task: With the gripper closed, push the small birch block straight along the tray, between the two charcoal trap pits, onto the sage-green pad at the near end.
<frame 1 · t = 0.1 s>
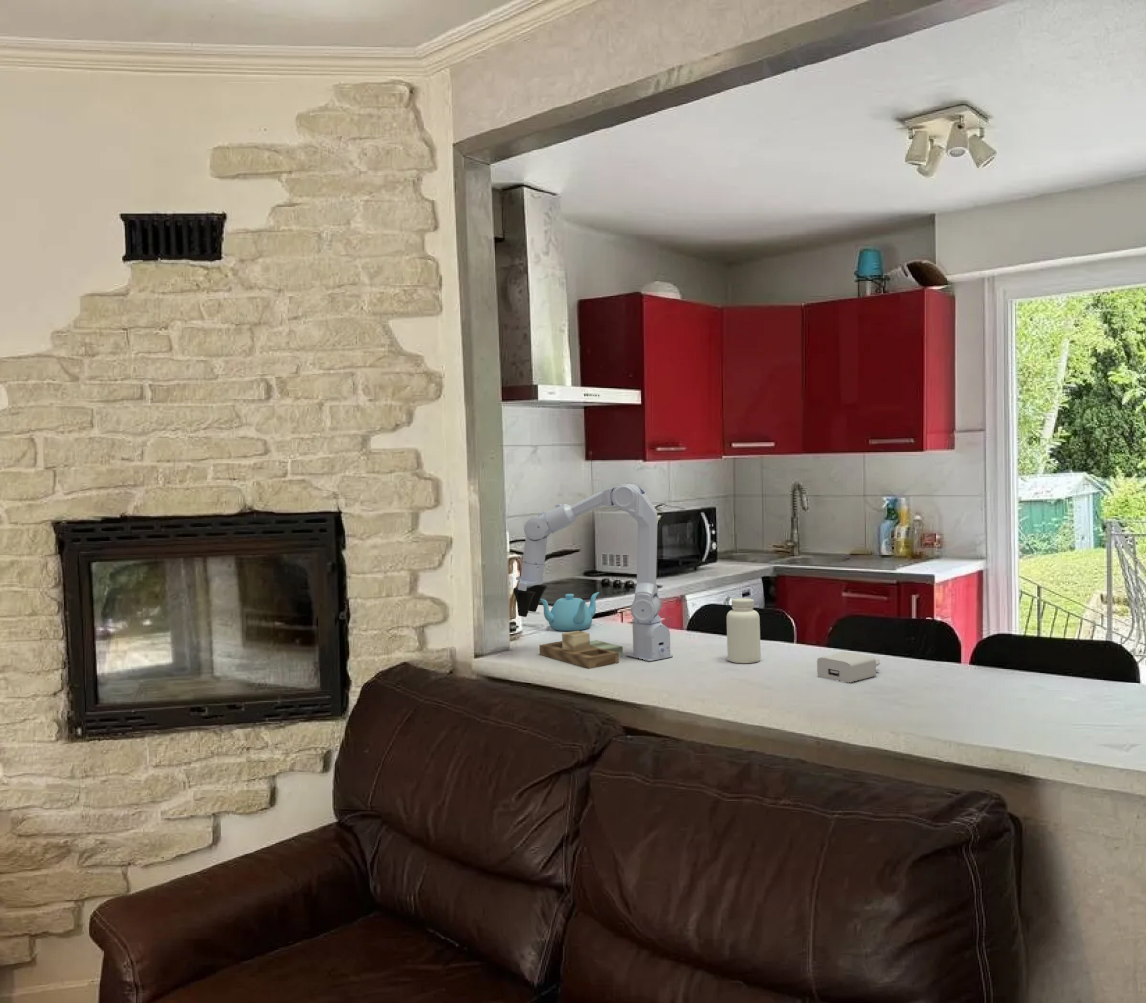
hand: (527, 613, 247), 11 cm above the worktop, tool pointing down, fingers open, 7 cm apart
teapot: (572, 629, 281), on the worktop
birch block: (576, 649, 239), point 2 cm above the worktop, touching tray
pill bottle: (744, 661, 231), on the worktop
charger: (855, 676, 214), on the worktop
tray: (598, 654, 243), on the worktop
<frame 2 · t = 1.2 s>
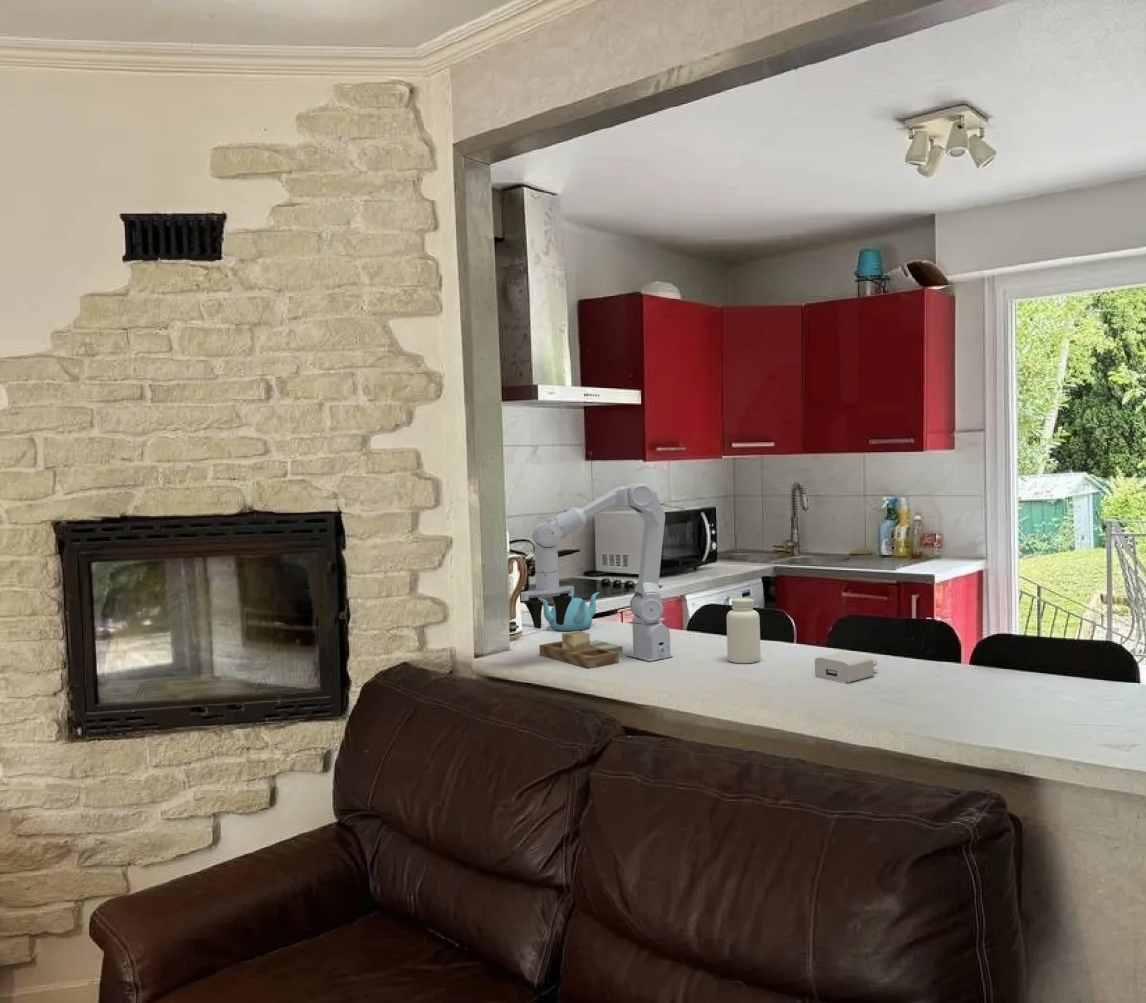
hand: (548, 626, 234), 9 cm above the worktop, tool pointing down, fingers open, 6 cm apart
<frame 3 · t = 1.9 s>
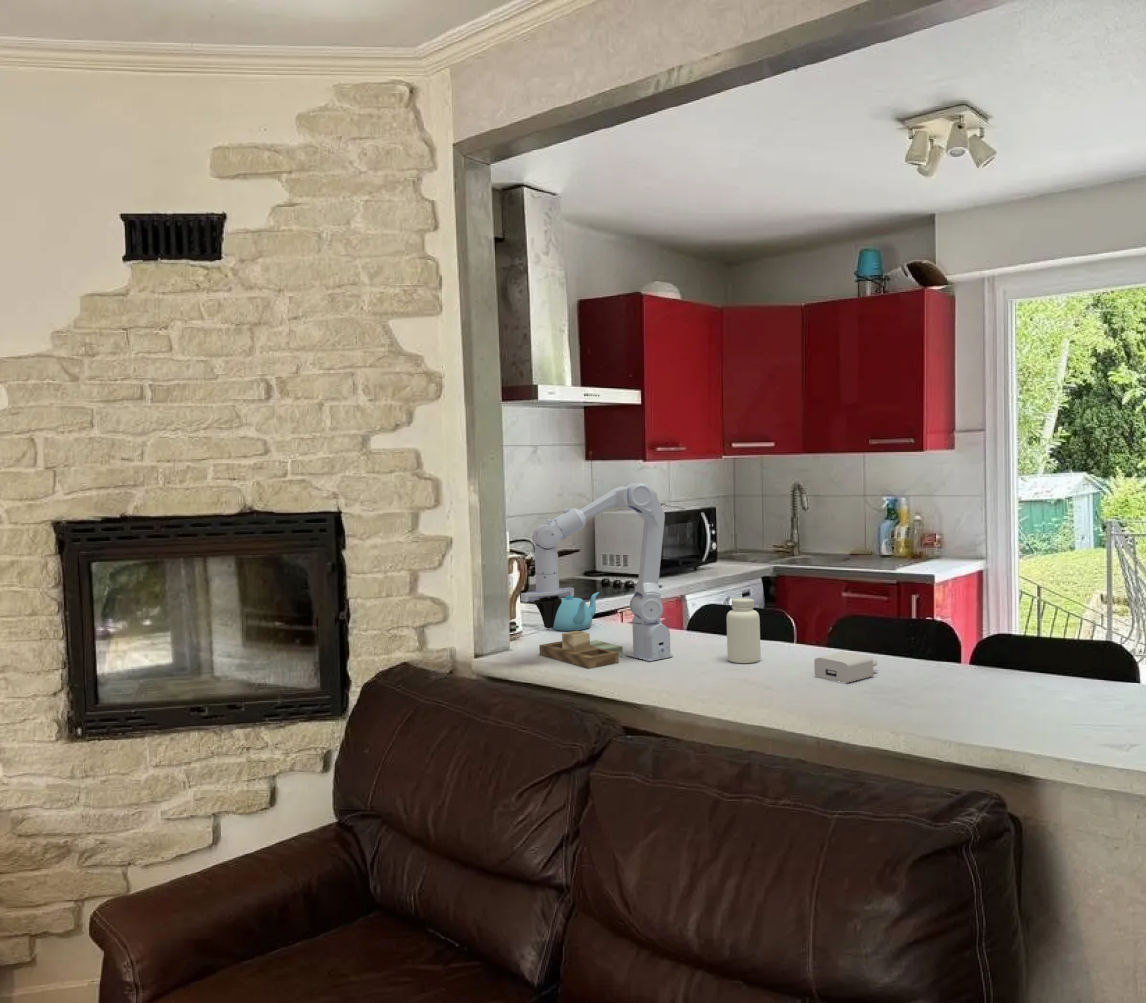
hand: (548, 627, 234), 9 cm above the worktop, tool pointing down, fingers closed
nothing on the worktop moved.
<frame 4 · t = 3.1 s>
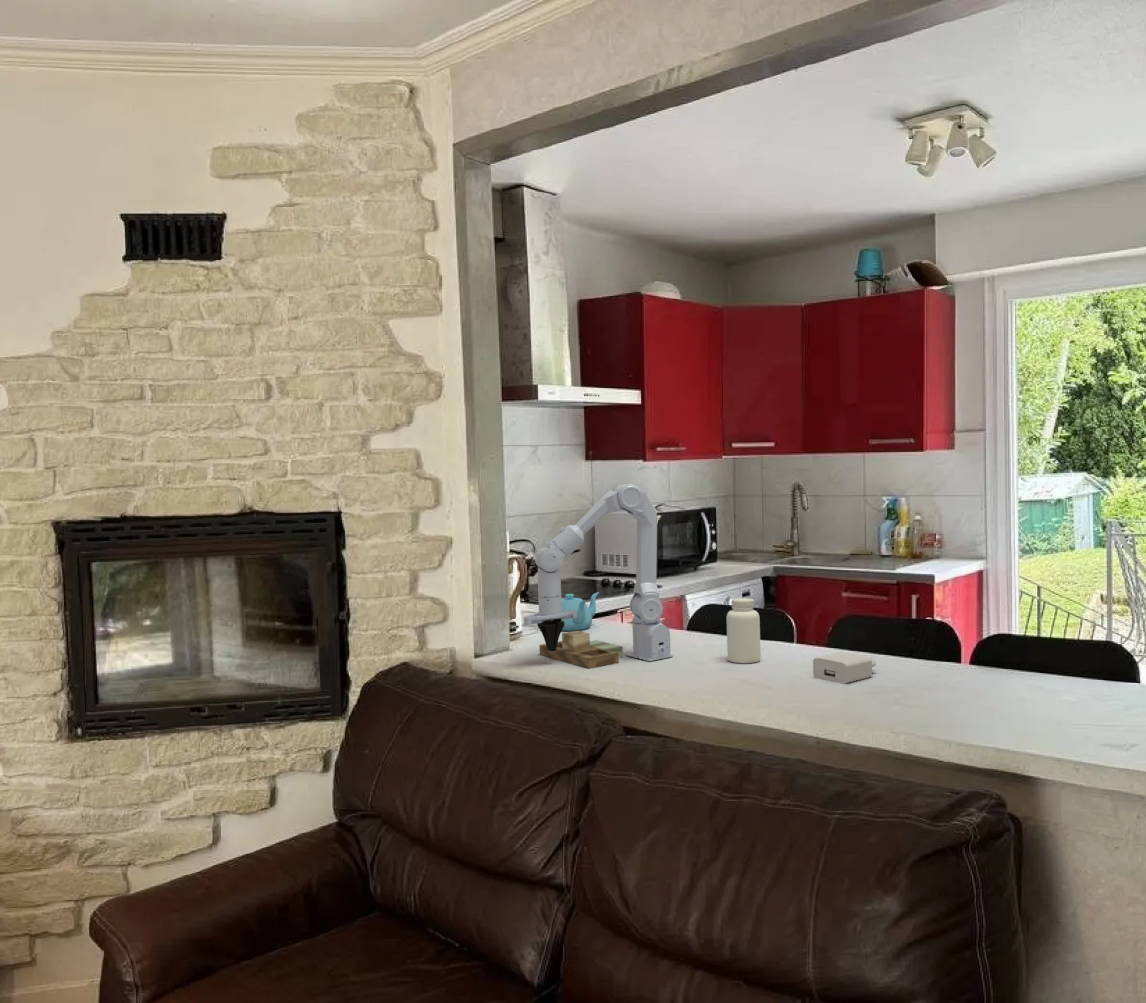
hand: (551, 650, 235), 3 cm above the worktop, tool pointing down, fingers closed
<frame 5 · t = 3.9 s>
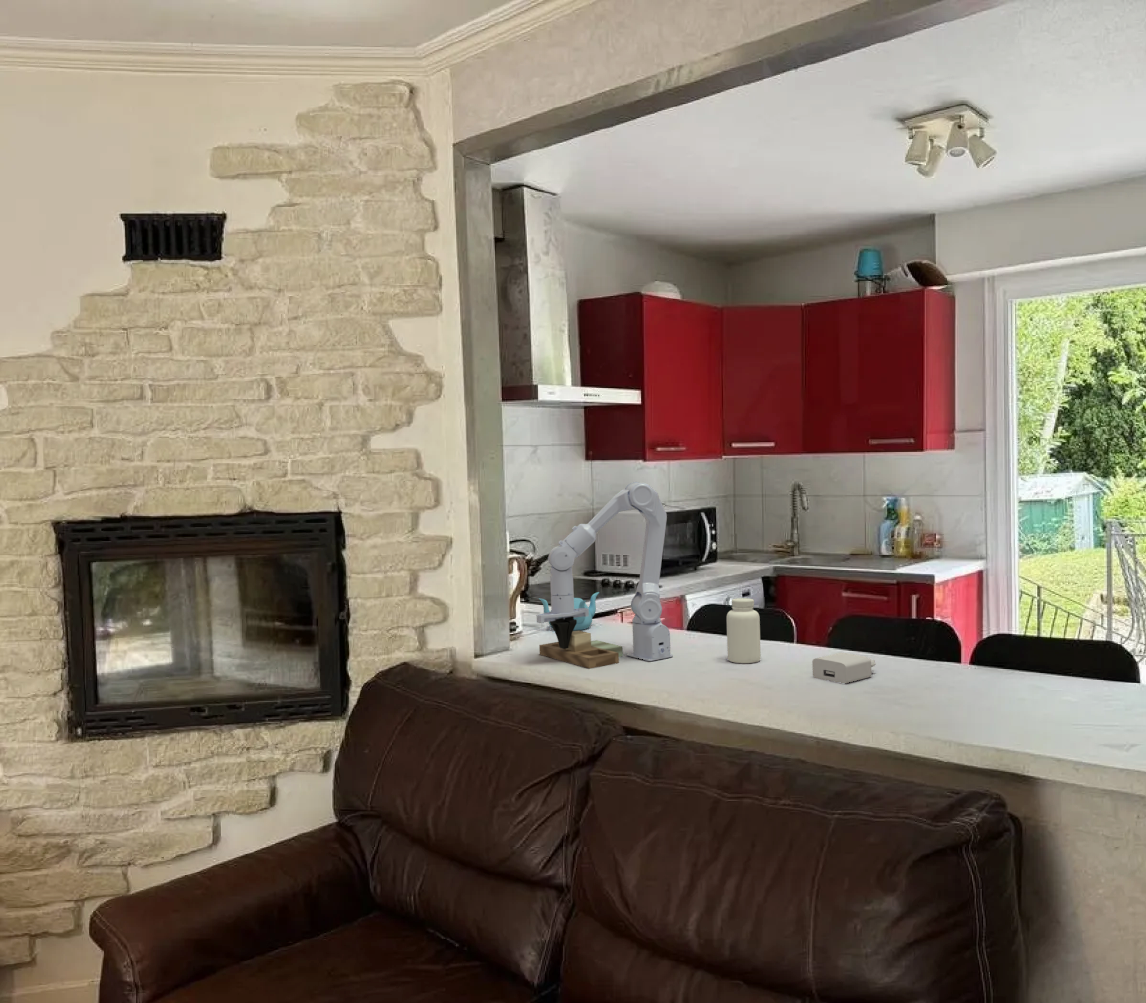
hand: (564, 648, 237), 3 cm above the worktop, tool pointing down, fingers closed
birch block: (577, 648, 240), point 3 cm above the worktop, touching gripper
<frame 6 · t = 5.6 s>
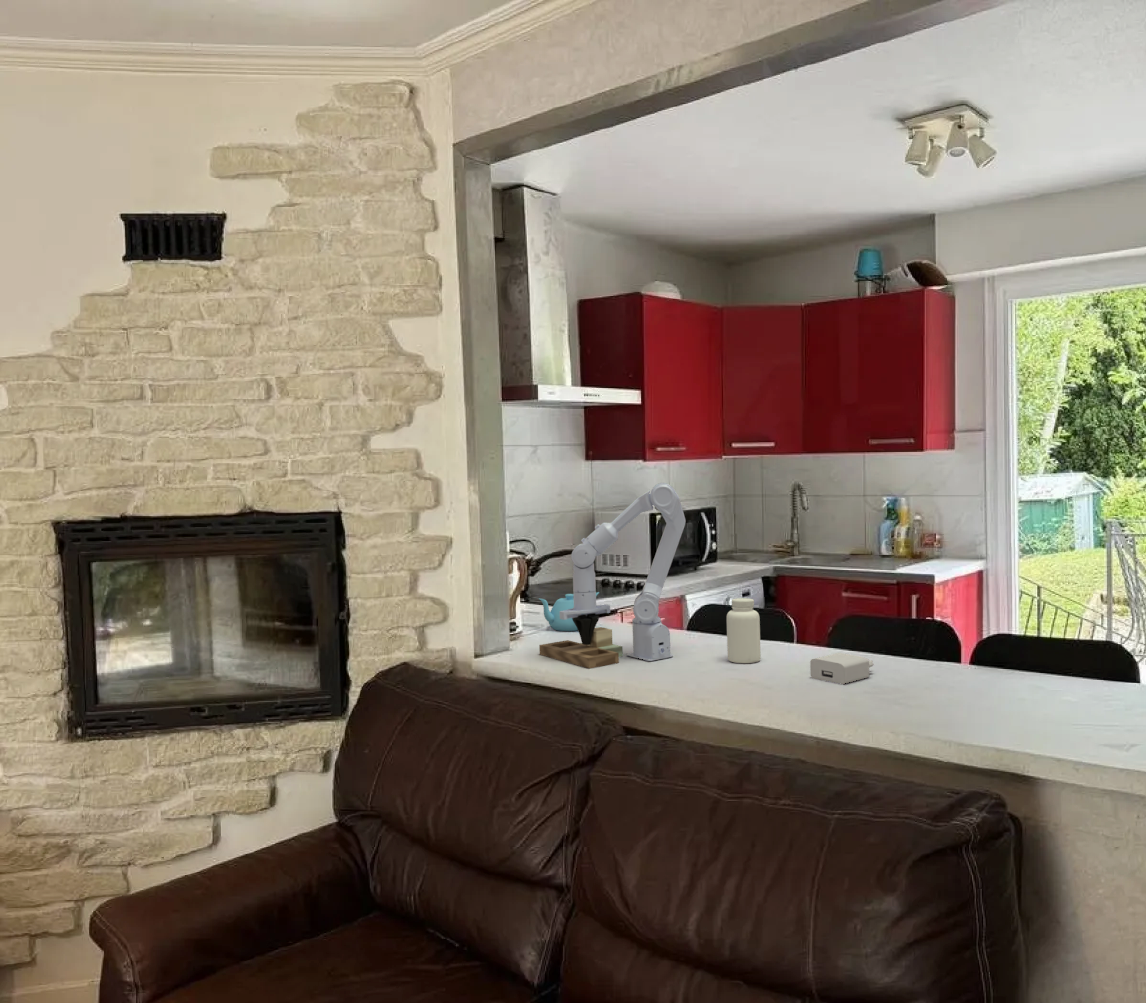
hand: (586, 644, 241), 3 cm above the worktop, tool pointing down, fingers closed
birch block: (598, 645, 244), point 2 cm above the worktop, touching gripper, tray
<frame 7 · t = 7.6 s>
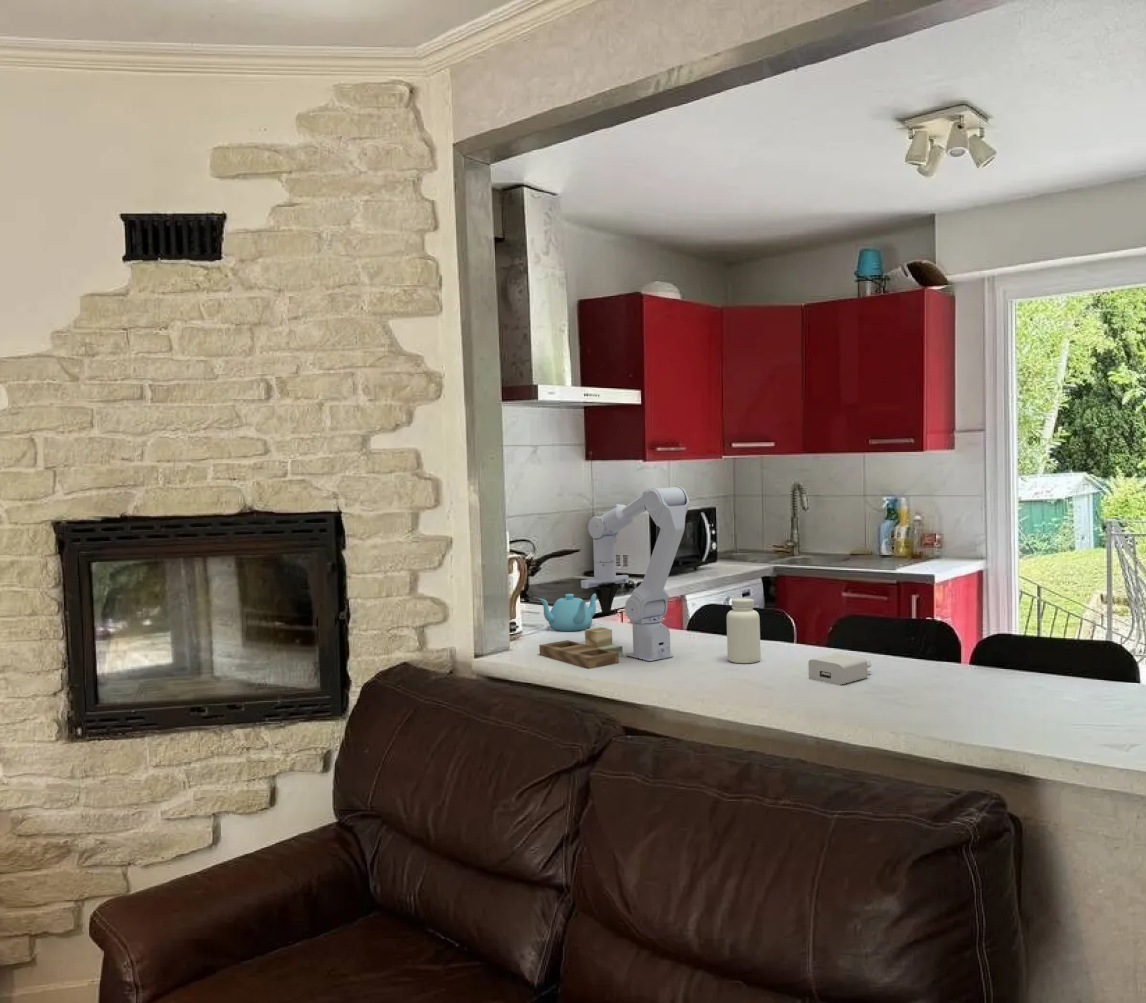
hand: (606, 612, 252), 9 cm above the worktop, tool pointing down, fingers closed
birch block: (598, 645, 244), point 2 cm above the worktop, touching tray
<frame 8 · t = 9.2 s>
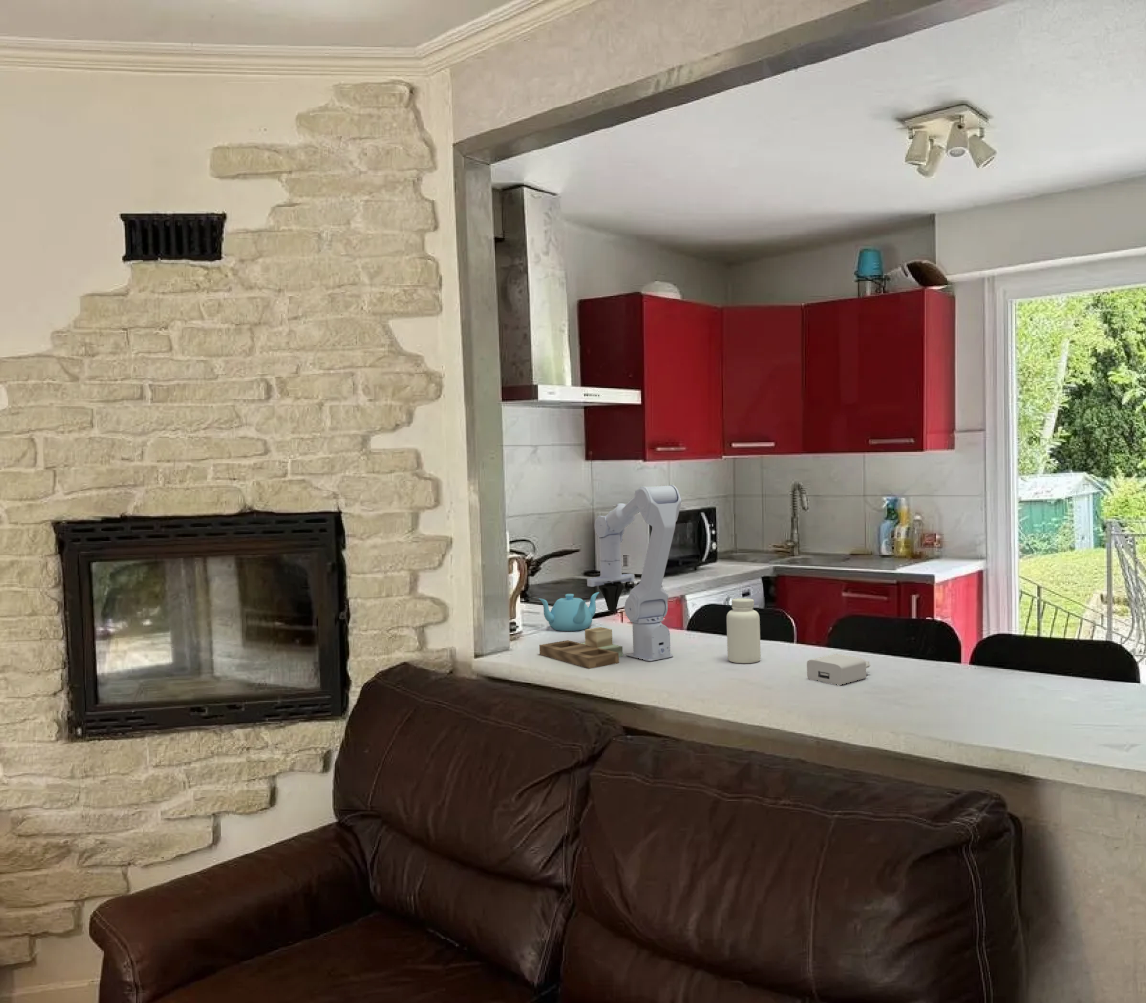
hand: (612, 610, 254), 9 cm above the worktop, tool pointing down, fingers closed
at the end: birch block 0.5 cm off-centre on the tray, point 2.5 cm above the tray's base; birch block tilted 0°; birch block moved 7.2 cm from its start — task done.
